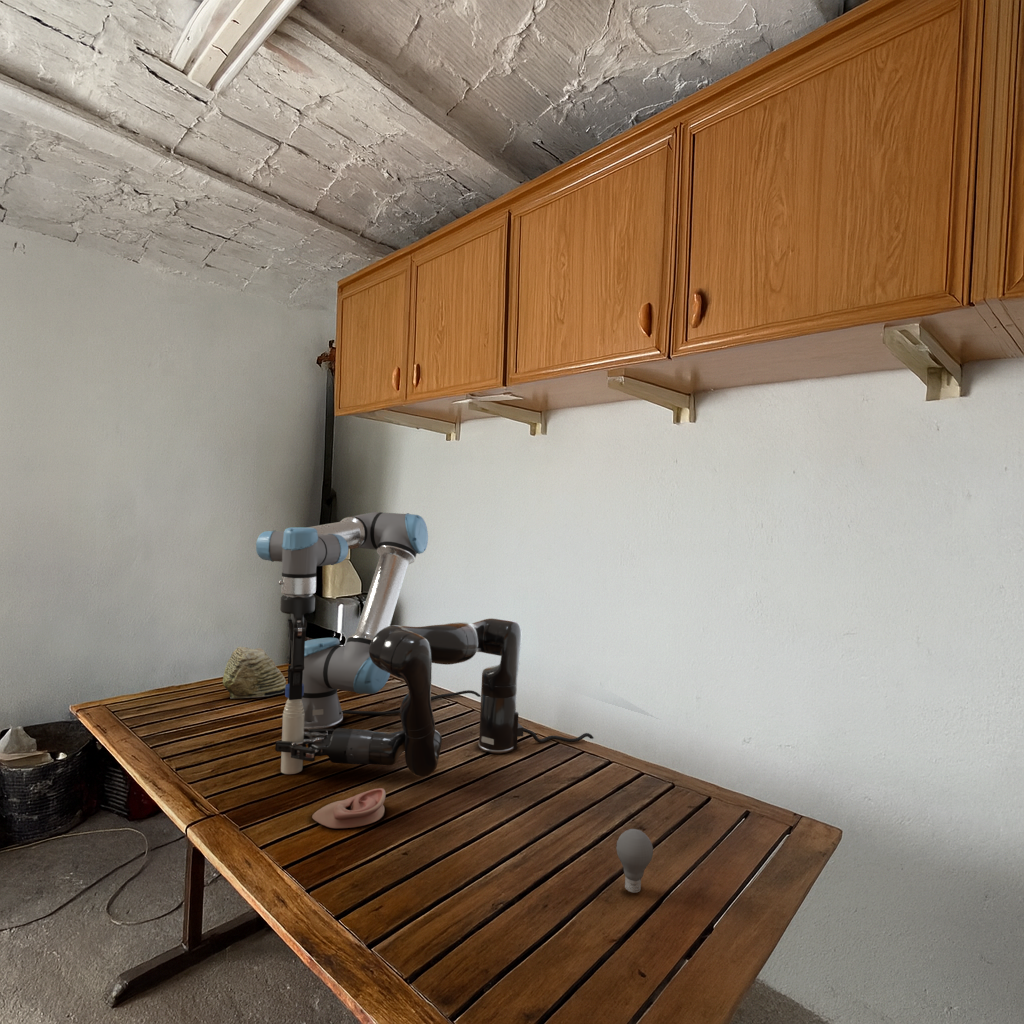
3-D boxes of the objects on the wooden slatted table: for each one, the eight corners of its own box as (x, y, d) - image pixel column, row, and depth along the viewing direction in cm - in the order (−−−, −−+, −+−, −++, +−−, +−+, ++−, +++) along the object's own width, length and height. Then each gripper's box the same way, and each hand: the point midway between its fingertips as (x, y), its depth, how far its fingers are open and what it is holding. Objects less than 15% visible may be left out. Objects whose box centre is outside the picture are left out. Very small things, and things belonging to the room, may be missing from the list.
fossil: (218, 695, 195) (220, 647, 195) (278, 685, 208) (279, 640, 207) (228, 703, 189) (230, 653, 188) (289, 692, 201) (290, 645, 201)
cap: (285, 693, 147) (285, 682, 147) (303, 692, 148) (304, 682, 148) (284, 698, 143) (285, 688, 143) (303, 697, 144) (303, 687, 144)
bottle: (306, 770, 146) (309, 688, 146) (286, 776, 143) (289, 691, 142) (296, 763, 149) (299, 683, 149) (276, 769, 146) (280, 686, 146)
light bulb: (610, 879, 108) (613, 822, 108) (644, 879, 109) (647, 822, 109) (619, 902, 102) (622, 840, 102) (655, 901, 103) (658, 840, 103)
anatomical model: (304, 803, 122) (333, 778, 133) (303, 824, 122) (332, 797, 133) (368, 813, 119) (392, 787, 131) (368, 834, 119) (391, 806, 131)
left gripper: (278, 589, 152) (274, 686, 152) (283, 601, 136) (279, 709, 136) (311, 589, 155) (307, 684, 155) (319, 600, 139) (315, 706, 139)
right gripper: (363, 719, 152) (294, 715, 153) (344, 742, 138) (267, 736, 139) (362, 750, 152) (293, 745, 153) (342, 776, 138) (266, 770, 139)
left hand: (294, 695), depth 146 cm, fingers closed on cap, 4 cm apart
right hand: (281, 741), depth 146 cm, fingers closed on bottle, 5 cm apart
